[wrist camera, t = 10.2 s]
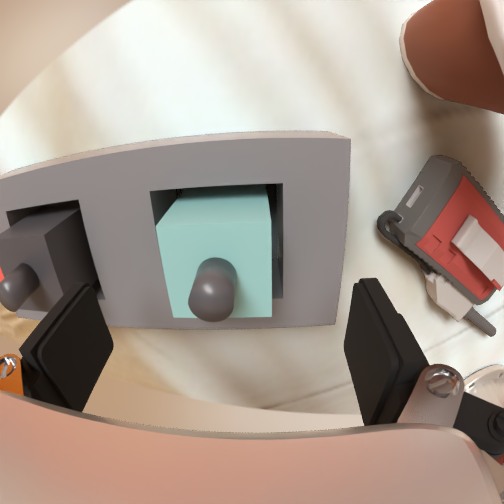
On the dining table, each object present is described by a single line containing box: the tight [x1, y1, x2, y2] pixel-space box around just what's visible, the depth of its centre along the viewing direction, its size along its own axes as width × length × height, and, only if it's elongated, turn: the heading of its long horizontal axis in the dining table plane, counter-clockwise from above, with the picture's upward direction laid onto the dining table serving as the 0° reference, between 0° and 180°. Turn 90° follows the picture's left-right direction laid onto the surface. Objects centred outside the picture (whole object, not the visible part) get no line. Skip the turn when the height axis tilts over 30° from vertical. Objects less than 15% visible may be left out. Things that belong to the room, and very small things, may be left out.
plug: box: [156, 184, 272, 322], centre depth 14 cm, size 4×4×9 cm
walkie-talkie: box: [377, 155, 504, 337], centre depth 18 cm, size 9×4×20 cm
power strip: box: [0, 131, 351, 329], centre depth 15 cm, size 22×10×9 cm, turn 92°
